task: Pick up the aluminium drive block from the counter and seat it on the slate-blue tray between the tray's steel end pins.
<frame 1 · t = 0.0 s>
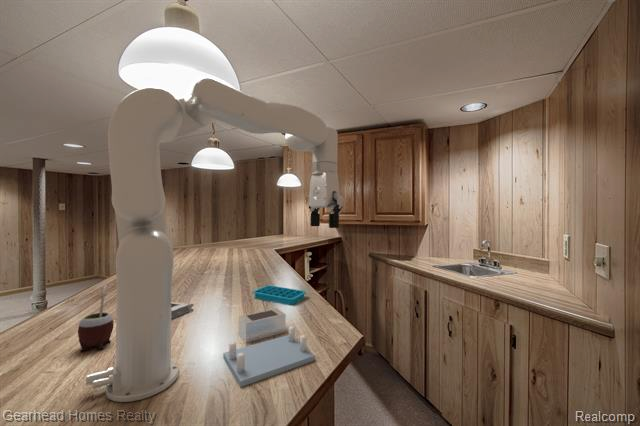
hand: (323, 226, 81), 31 cm above the counter, tool pointing down, fingers open, 9 cm apart
ice cube tray: (279, 299, 111), on the counter
drive block: (262, 334, 78), on the counter
pin tray: (268, 359, 65), on the counter
mate gourd: (96, 347, 70), on the counter
graphics card: (158, 312, 95), on the counter
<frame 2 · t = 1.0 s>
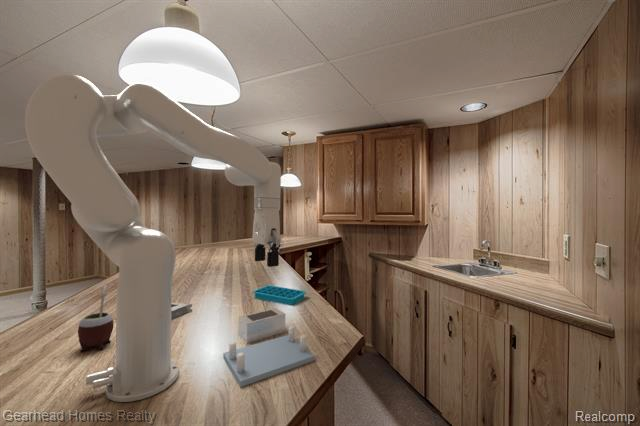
hand: (266, 263, 78), 20 cm above the counter, tool pointing down, fingers open, 9 cm apart
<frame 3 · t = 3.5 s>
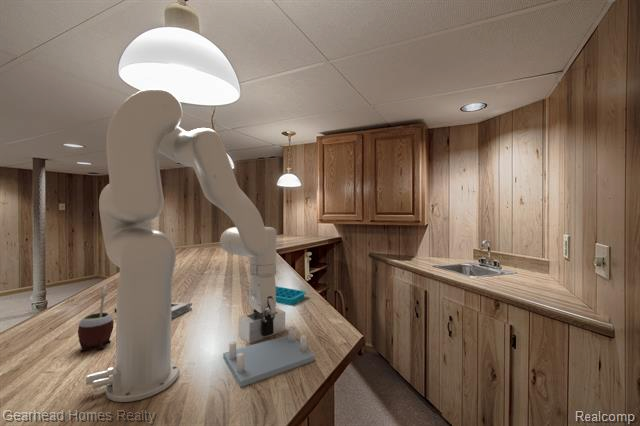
hand: (262, 329, 79), 1 cm above the counter, tool pointing down, fingers closed on drive block, 6 cm apart
drive block: (262, 333, 79), on the counter, touching gripper
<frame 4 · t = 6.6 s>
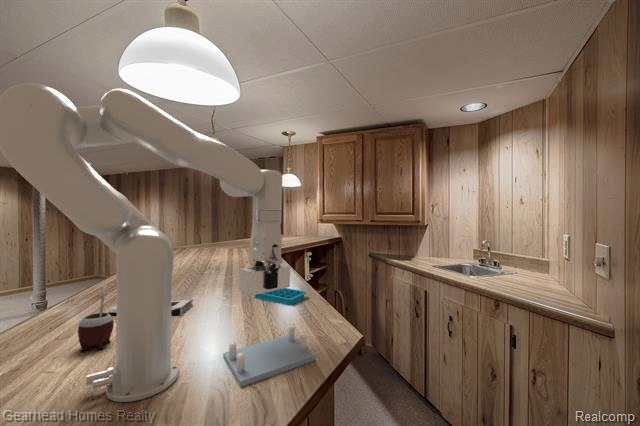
hand: (265, 284, 71), 16 cm above the counter, tool pointing down, fingers closed on drive block, 6 cm apart
drive block: (264, 288, 71), point 15 cm above the counter, touching gripper
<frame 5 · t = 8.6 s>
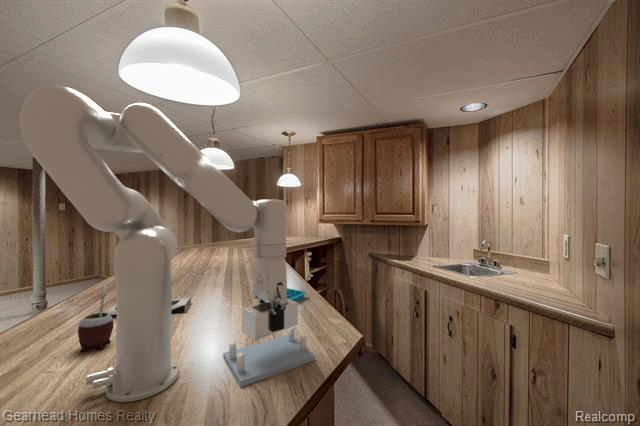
hand: (270, 323, 65), 8 cm above the counter, tool pointing down, fingers closed on drive block, 6 cm apart
drive block: (270, 328, 65), point 7 cm above the counter, touching gripper
when the fingers open (4 cm above the counter, at t = 10.0 s): drive block drops 2 cm, resting on pin tray.
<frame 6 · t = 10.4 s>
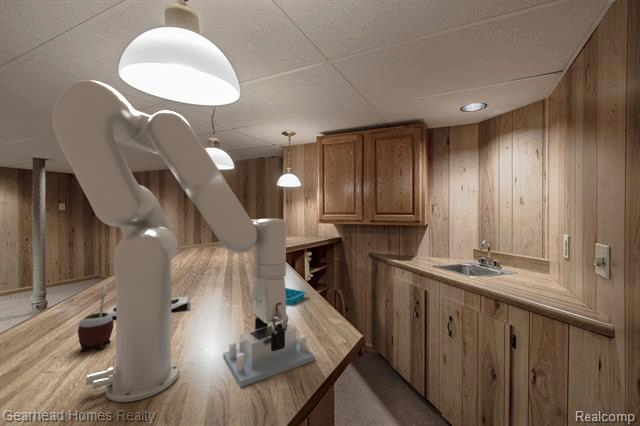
hand: (269, 340, 65), 4 cm above the counter, tool pointing down, fingers open, 9 cm apart
drive block: (268, 354, 65), point 1 cm above the counter, touching pin tray
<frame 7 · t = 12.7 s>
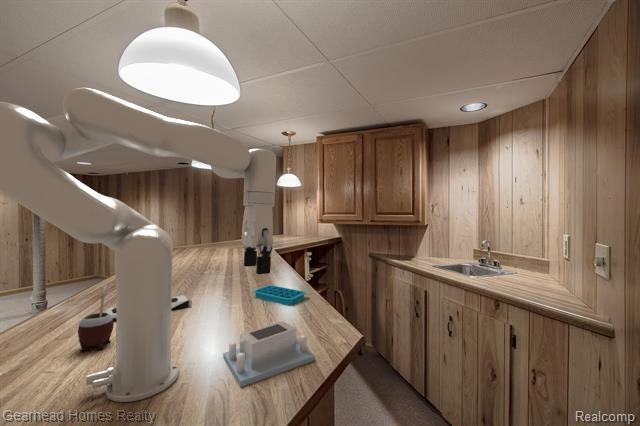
hand: (256, 269, 66), 21 cm above the counter, tool pointing down, fingers open, 9 cm apart
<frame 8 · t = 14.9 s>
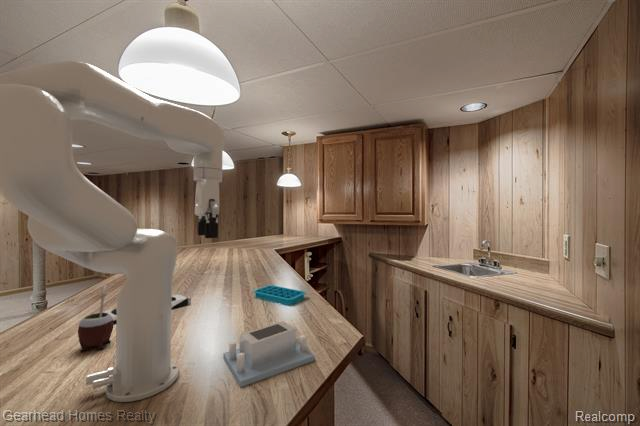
hand: (207, 236, 76), 28 cm above the counter, tool pointing down, fingers open, 9 cm apart
at the end: drive block 0.1 cm off-centre on the pin tray, point 1.2 cm above the pin tray's base; drive block tilted 0°; the gripper is holding nothing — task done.
